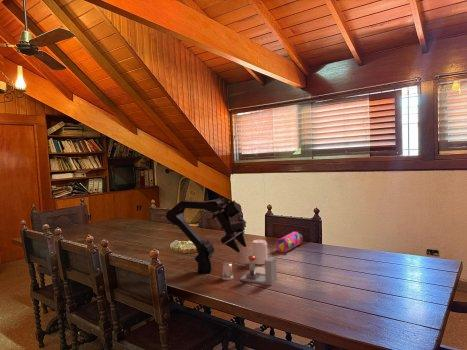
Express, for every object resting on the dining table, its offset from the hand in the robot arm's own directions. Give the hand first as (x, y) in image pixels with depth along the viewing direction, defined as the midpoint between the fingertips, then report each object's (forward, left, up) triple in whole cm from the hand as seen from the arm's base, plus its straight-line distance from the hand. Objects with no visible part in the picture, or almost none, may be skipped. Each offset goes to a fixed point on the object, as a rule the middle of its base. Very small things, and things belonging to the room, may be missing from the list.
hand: (242, 249), depth 163 cm
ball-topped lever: (+4, -6, -12) cm, 14 cm away
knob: (-8, -3, -13) cm, 16 cm away
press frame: (+9, -3, -13) cm, 16 cm away
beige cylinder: (+10, +17, -13) cm, 24 cm away
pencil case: (+31, +42, -13) cm, 54 cm away
